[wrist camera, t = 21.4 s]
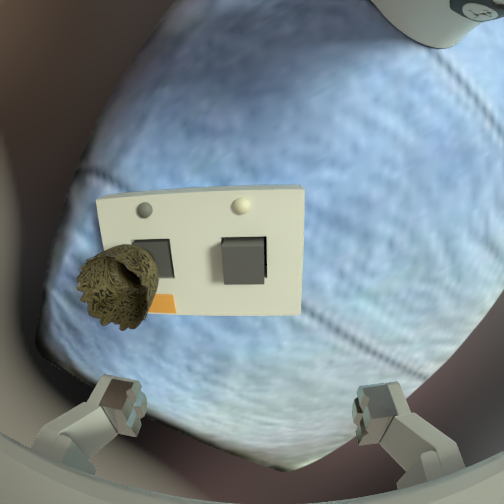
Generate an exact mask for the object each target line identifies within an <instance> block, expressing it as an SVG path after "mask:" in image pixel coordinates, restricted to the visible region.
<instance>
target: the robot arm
mask: <svg viewBox="0 0 504 504" xmlns="http://www.w3.org/2000/svg"><path fill="white" fill-rule="evenodd" d="M371 1H372V2H373V3H374V4H375V5H376V7H377V8H378V9H379V10H380V12H381V13H382V14H383V15H384V16H385V17H386V18H387V19H388V20H389V21H390V22H391V23H392V24H393V25H394V26H395V27H396V28H397V29H399V30H400V31H401V32H403V33H404V34H405V35H407V36H409V37H410V38H412V39H414V40H416V41H417V42H420V43H422V44H424V45H427V46H431V47H435V48H449V47H452V46H455V45H456V44H458V43H459V42H460V41H461V40H462V39H463V38H464V36H465V35H466V34H467V33H469V32H470V31H471V30H472V29H473V28H475V27H476V26H478V25H479V24H481V23H482V22H485V21H490V20H494V19H498V18H501V17H504V0H371ZM141 388H142V386H141V384H140V382H139V381H137V380H131V379H126V378H121V377H116V376H111V375H106V374H104V375H103V376H101V378H100V380H99V382H98V383H97V385H96V387H95V389H94V391H93V392H92V394H91V396H90V398H89V400H88V401H87V403H86V402H83V403H82V404H80V405H78V406H77V407H75V408H73V409H71V410H70V411H68V412H66V413H65V414H63V415H61V416H59V417H58V418H56V419H54V420H53V421H51V422H49V423H47V424H46V425H44V426H43V427H42V429H41V430H40V432H39V434H38V436H37V437H36V439H35V441H34V443H33V445H32V446H31V448H29V447H27V446H25V445H23V444H21V443H20V442H18V441H16V440H14V439H12V438H10V437H9V436H7V435H5V434H4V433H2V432H0V504H232V503H220V502H210V501H202V500H195V499H188V498H182V497H176V496H170V495H166V494H161V493H155V492H151V491H147V490H143V489H138V488H135V487H131V486H127V485H124V484H120V483H117V482H113V481H110V480H107V479H104V478H101V477H98V476H95V473H96V467H95V466H94V465H93V464H92V463H91V462H90V461H89V458H90V457H91V456H93V455H94V454H95V453H96V452H98V451H99V450H100V449H101V448H102V447H104V446H105V445H106V444H107V443H108V442H110V441H111V440H112V439H113V438H114V437H115V436H117V433H119V434H124V435H128V436H133V437H137V435H138V432H139V429H140V427H141V422H140V420H139V419H140V418H142V417H144V416H145V413H146V410H147V398H146V396H145V394H144V393H143V392H142V391H141ZM357 396H358V397H357V398H356V399H355V400H354V402H353V407H352V416H353V422H354V423H355V424H356V425H357V426H358V427H357V429H356V436H357V440H358V445H366V444H375V443H380V445H381V446H382V447H383V448H384V449H385V450H386V451H387V452H388V453H389V454H390V455H391V456H392V457H393V459H394V460H395V461H397V462H398V464H399V465H400V466H401V467H402V468H403V469H404V470H405V471H406V473H405V474H404V475H403V477H402V478H401V479H400V480H399V481H398V482H397V488H398V490H395V491H391V492H386V493H382V494H377V495H372V496H366V497H360V498H354V499H347V500H341V501H332V502H322V503H310V504H504V451H502V452H500V453H498V454H496V455H494V456H492V457H490V458H488V459H486V460H484V461H481V462H479V463H477V464H474V465H472V466H470V467H467V468H465V465H464V463H463V460H462V457H461V455H460V452H459V450H458V447H457V445H456V442H454V441H453V440H451V439H450V438H449V437H447V436H446V435H445V434H443V433H442V432H440V431H439V430H438V429H436V428H435V427H433V426H432V425H431V424H429V423H428V422H426V421H425V420H424V419H422V418H421V417H420V416H418V415H417V414H416V413H411V412H410V409H409V407H408V404H407V401H406V399H405V396H404V394H403V391H402V389H401V386H400V384H399V383H398V382H389V383H380V384H372V385H364V386H360V387H359V388H358V390H357Z"/></svg>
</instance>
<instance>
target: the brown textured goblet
mask: <svg viewBox="0 0 504 504" xmlns="http://www.w3.org/2000/svg"><path fill="white" fill-rule="evenodd" d="M79 269H81V273H80V275H79V276H78V278H77V282H78V281H79V283H78V286H77V290H78V291H82V292H84V293H83V295H82V297H81V299H80V300H81V301H82V302H85V301H87V304H88V313H89V315H90V316H92V317H94V318H98V319H100V323H101V325H102V326H106V325H108V324H109V323H111V322H113V323H114V324H115V325H116V324H120V328H119V329H120V330H121V331H124V330H126V329H127V328H128V327H129V328H130V329H135V328H137V327H138V326H139V325H140V323H141V322H142V320H145V318H146V316H147V313H148V311H149V308H150V306H151V304H152V301H153V299H154V297H155V294H156V291H157V288H158V283H159V273H158V268H157V265H156V263H155V259H154V257H153V255H152V254H151V253H150V252H149V251H148V250H146V249H144V248H140V247H138V246H135V245H130V244H122V245H118V246H115V247H112V248H110V249H107V250H105V251H103V252H102V253H100V254H98V255H96V256H94V257H92V258H89V259H87V260H86V263H85V264H84V265H82V266H81V267H80V268H79ZM82 270H83V271H82ZM85 303H86V302H85Z"/></svg>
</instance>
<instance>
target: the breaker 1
mask: <svg viewBox="0 0 504 504" xmlns="http://www.w3.org/2000/svg"><path fill="white" fill-rule="evenodd" d="M133 245H135V246H138V247H140V248H144V249H146V250H148V251H149V252H150V253H151V254H152V255H153V257H154V259H155V263H156V265H157V268H158V273H159V277H172V275H173V274H174V268H173V261H172V254H171V246H170V239H137V240H135V241H134V242H133Z"/></svg>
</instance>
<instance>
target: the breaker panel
mask: <svg viewBox="0 0 504 504" xmlns="http://www.w3.org/2000/svg"><path fill="white" fill-rule="evenodd" d="M304 193H305V189H304V188H303V187H302V186H301V185H243V186H216V187H196V188H179V189H164V190H151V191H139V192H128V193H118V194H108V195H106V196H104V197H101V198H99V199H97V200H96V205H97V212H98V219H99V225H100V231H101V236H102V242H103V247H104V251H105V250H107V249H110V248H112V247H115V246H118V245H122V244H130V245H133V242H134V241H135V240H137V239H170V246H171V254H172V261H173V268H174V274H173V275H172V277H159V283H158V288H157V291H156V294H155V297H154V299H153V301H152V304H151V306H150V308H149V311H148V313H150V314H173V315H211V316H273V315H300V313H301V294H302V273H303V245H304ZM262 236H267V267H264V284H257V285H224V278H223V265H222V251H221V246H222V244H223V241H224V238H225V237H262Z"/></svg>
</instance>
